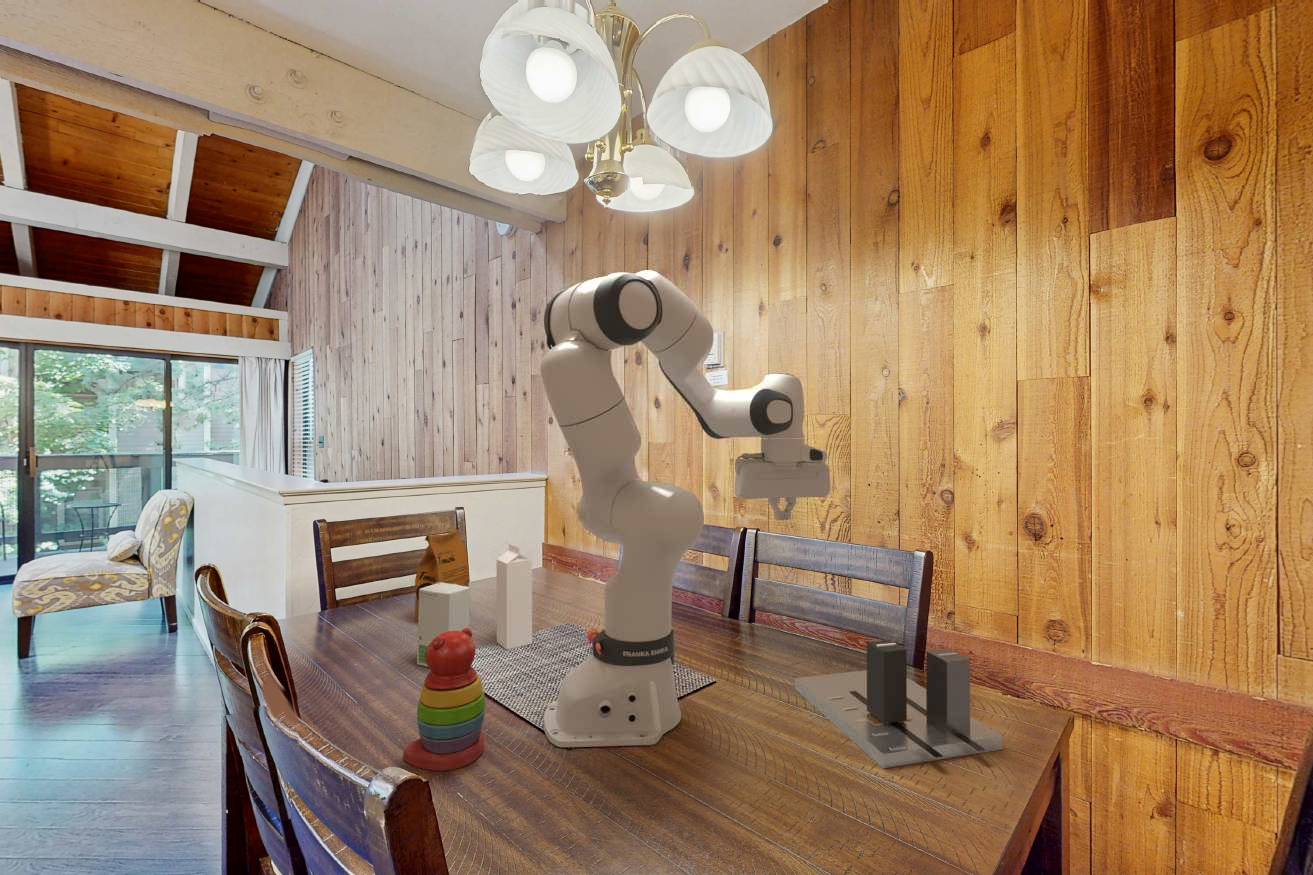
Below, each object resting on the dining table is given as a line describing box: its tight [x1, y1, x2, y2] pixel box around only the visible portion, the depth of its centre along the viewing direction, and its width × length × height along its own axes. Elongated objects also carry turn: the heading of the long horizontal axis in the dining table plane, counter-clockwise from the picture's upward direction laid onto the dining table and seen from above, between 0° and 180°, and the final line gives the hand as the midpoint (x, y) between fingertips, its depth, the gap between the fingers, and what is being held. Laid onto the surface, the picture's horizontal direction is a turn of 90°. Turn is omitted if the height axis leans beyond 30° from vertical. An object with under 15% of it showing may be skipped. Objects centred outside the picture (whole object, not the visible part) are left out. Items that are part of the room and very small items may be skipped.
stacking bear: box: [403, 627, 486, 771], centre depth 84 cm, size 11×10×18 cm
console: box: [794, 648, 1003, 769], centre depth 94 cm, size 20×28×13 cm
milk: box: [496, 543, 533, 651], centre depth 129 cm, size 6×6×22 cm
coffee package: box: [414, 529, 470, 623], centre depth 147 cm, size 10×12×22 cm
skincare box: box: [416, 582, 471, 668], centre depth 118 cm, size 8×7×16 cm
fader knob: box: [866, 639, 908, 724], centre depth 90 cm, size 4×4×11 cm
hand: (782, 519), depth 119 cm, fingers closed
